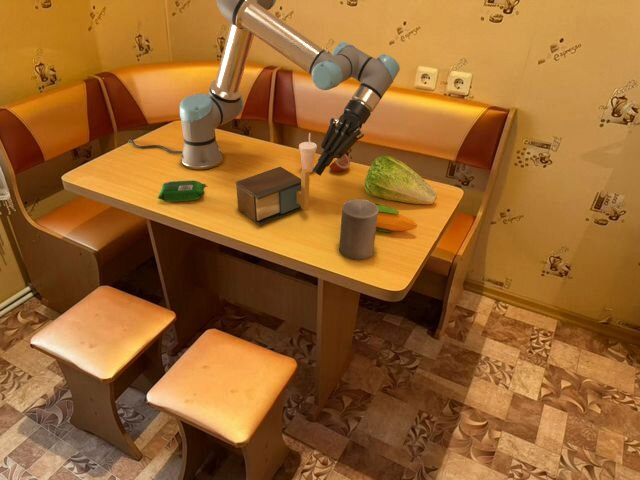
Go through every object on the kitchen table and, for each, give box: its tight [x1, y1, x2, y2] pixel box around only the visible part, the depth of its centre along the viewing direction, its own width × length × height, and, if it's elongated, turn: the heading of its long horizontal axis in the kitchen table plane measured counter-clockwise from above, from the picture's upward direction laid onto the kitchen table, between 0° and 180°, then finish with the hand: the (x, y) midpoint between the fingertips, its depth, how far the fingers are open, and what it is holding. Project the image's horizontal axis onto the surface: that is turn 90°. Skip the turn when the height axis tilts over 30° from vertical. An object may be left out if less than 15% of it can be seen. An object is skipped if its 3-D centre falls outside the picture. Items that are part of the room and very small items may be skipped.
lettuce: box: [363, 154, 438, 205], centre depth 158 cm, size 14×23×14 cm
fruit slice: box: [329, 153, 351, 172], centre depth 177 cm, size 8×7×5 cm
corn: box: [374, 203, 418, 233], centre depth 146 cm, size 7×8×20 cm
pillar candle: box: [338, 198, 378, 261], centre depth 135 cm, size 10×10×15 cm
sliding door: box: [280, 169, 310, 214], centre depth 150 cm, size 5×8×14 cm, turn 126°
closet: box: [235, 166, 303, 227], centre depth 155 cm, size 12×17×10 cm
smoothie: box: [298, 132, 318, 174], centre depth 175 cm, size 6×6×14 cm
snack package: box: [157, 180, 208, 203], centre depth 163 cm, size 7×16×5 cm, turn 94°
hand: (316, 173), depth 149 cm, fingers closed
